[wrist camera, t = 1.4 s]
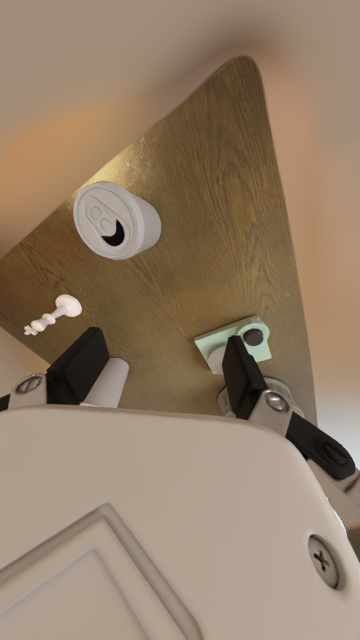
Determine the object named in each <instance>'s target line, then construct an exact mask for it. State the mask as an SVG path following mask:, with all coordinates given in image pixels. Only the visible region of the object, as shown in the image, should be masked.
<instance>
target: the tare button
mask: <svg viewBox="0 0 360 640" xmlns="http://www.w3.org/2000/svg"><path fill="white" fill-rule="evenodd" d="M244 339H245V341H246V343H247V344H248V345H249V346H258V345H260V344H261V343H262V342H263V339H264V338H263V335H262V334H261V332H260V331H259V330H257V329H250V330H248V331H247V332H245V334H244Z"/></svg>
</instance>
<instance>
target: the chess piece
mask: <svg viewBox="0 0 360 640" xmlns="http://www.w3.org/2000/svg"><path fill="white" fill-rule="evenodd" d="M56 306H57V309H56V310H55V311H54V312H53V313H51V314H44V315H43V316H42V319H40V320H35V321H33V322H31V326H32V328H31V327H29V326H26V327H25V328H24V329H26V330H27V331H26V332H25V333H24V334H26V335H28V334H30V333H32V334H33V335H36V334H37V333H38V332H37V331H43V330H44V329H45V328H46V326H47V325H48V324H54V323H55V318H57V317H59V316H61V315H63V314H65V315H67V316H71V317H74V316H77V315H79V314H80V313H81V311H82V308H81V305H80V303H79V302H78V300H77V299H75V298H74V297H72V296H70V295H66V294H64V295H60V296H59V297H58V298H57V299H56ZM35 330H37V331H35Z"/></svg>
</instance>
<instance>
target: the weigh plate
mask: <svg viewBox="0 0 360 640" xmlns="http://www.w3.org/2000/svg"><path fill="white" fill-rule="evenodd" d="M225 349H226V346H223V347H220V348H217V349H216V350H214V351H213V352H212V353H211V354H210V355H209V357H208V366H209V368H210V369H211V370H212V371H213V372H215V373H217V374H221V375H224V374H223V370H222V361H223V357H224V353H225Z"/></svg>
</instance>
